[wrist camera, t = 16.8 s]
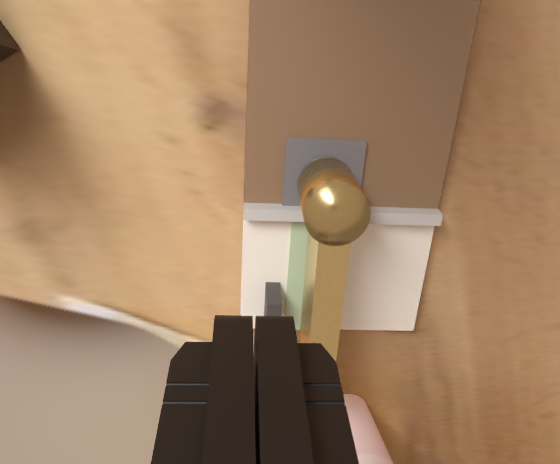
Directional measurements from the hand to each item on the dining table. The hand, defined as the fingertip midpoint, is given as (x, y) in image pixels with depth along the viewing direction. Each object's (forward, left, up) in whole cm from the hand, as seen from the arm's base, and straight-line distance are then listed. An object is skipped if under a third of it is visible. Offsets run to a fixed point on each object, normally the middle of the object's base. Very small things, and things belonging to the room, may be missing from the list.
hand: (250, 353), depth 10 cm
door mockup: (+5, +7, -25) cm, 26 cm away
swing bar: (+11, +5, -22) cm, 25 cm away
